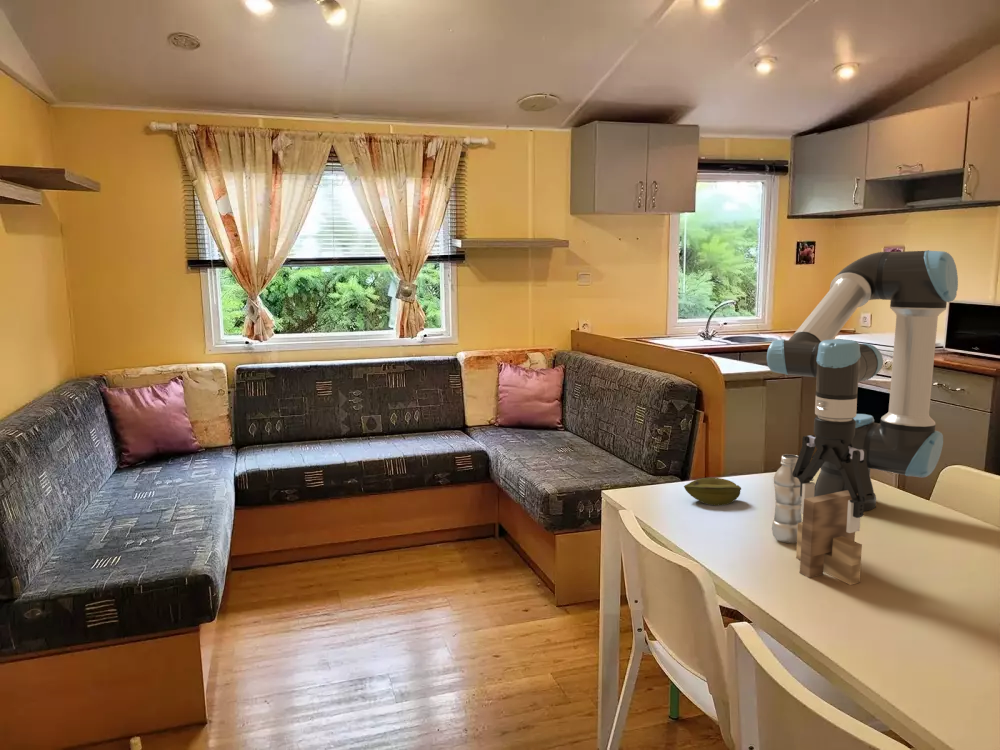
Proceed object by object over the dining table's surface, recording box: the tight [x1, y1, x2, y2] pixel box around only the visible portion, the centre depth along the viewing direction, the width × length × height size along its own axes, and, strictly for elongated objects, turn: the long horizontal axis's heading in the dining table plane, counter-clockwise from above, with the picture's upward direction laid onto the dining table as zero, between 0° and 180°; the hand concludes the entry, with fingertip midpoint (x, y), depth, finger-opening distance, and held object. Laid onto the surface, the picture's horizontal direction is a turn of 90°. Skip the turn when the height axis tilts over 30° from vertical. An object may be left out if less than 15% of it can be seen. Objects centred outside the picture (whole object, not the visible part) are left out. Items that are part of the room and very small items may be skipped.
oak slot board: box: [795, 521, 863, 586], centre depth 146 cm, size 2×14×8 cm, turn 22°
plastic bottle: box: [771, 453, 803, 544], centre depth 160 cm, size 6×7×20 cm
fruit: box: [683, 477, 742, 507], centre depth 188 cm, size 11×12×7 cm
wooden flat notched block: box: [799, 490, 858, 579], centre depth 145 cm, size 12×2×16 cm, turn 113°
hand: (829, 521), depth 145 cm, fingers open, 11 cm apart
